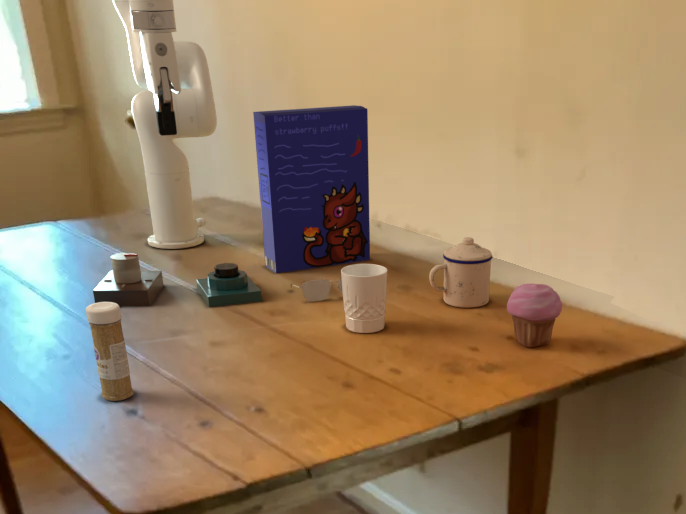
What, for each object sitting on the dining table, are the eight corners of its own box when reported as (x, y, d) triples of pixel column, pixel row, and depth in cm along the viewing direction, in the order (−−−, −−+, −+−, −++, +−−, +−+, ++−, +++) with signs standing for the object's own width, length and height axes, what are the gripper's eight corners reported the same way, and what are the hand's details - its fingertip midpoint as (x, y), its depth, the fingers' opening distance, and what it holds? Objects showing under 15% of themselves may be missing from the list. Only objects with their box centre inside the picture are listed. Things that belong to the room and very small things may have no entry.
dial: (112, 284, 169) (107, 258, 167) (117, 276, 173) (113, 251, 171) (139, 283, 169) (135, 257, 167) (143, 276, 174) (140, 250, 171)
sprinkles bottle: (96, 396, 132) (78, 306, 125) (122, 387, 135) (106, 298, 128) (114, 404, 129) (97, 313, 122) (140, 395, 132) (125, 305, 125)
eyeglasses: (300, 303, 169) (298, 281, 167) (289, 294, 176) (287, 273, 174) (370, 295, 174) (369, 273, 172) (356, 286, 180) (355, 266, 179)
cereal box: (357, 253, 199) (354, 104, 183) (370, 259, 195) (367, 107, 179) (265, 266, 190) (253, 110, 174) (276, 273, 186) (264, 114, 170)
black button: (213, 274, 173) (212, 264, 172) (236, 272, 174) (235, 262, 173) (217, 280, 169) (216, 270, 168) (241, 278, 171) (240, 268, 169)
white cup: (394, 322, 160) (393, 265, 155) (378, 337, 154) (377, 278, 148) (352, 317, 162) (351, 261, 157) (335, 331, 156) (333, 273, 151)
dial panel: (113, 286, 178) (110, 270, 177) (163, 285, 179) (161, 269, 177) (95, 306, 167) (92, 289, 166) (149, 306, 168) (147, 289, 166)
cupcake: (523, 355, 146) (528, 294, 141) (495, 339, 153) (498, 280, 148) (568, 347, 150) (574, 287, 145) (538, 331, 156) (543, 273, 151)
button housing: (197, 289, 177) (194, 268, 175) (247, 284, 180) (245, 263, 178) (209, 307, 167) (206, 285, 165) (262, 301, 170) (260, 280, 168)
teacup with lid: (478, 292, 176) (481, 230, 169) (497, 305, 168) (501, 242, 162) (420, 298, 172) (421, 235, 166) (437, 312, 165) (439, 247, 159)
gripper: (182, 24, 155) (195, 139, 165) (168, 19, 167) (181, 127, 177) (138, 25, 153) (153, 142, 163) (126, 20, 164) (142, 129, 174)
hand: (167, 134), depth 170 cm, fingers closed
